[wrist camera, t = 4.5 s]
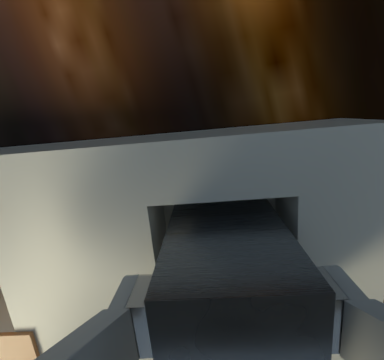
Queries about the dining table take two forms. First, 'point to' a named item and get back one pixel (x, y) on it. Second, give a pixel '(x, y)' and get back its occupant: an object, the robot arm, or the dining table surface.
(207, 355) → the dark gray block
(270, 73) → the dining table surface
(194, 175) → the socket rail
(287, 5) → the dining table surface
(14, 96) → the dining table surface
